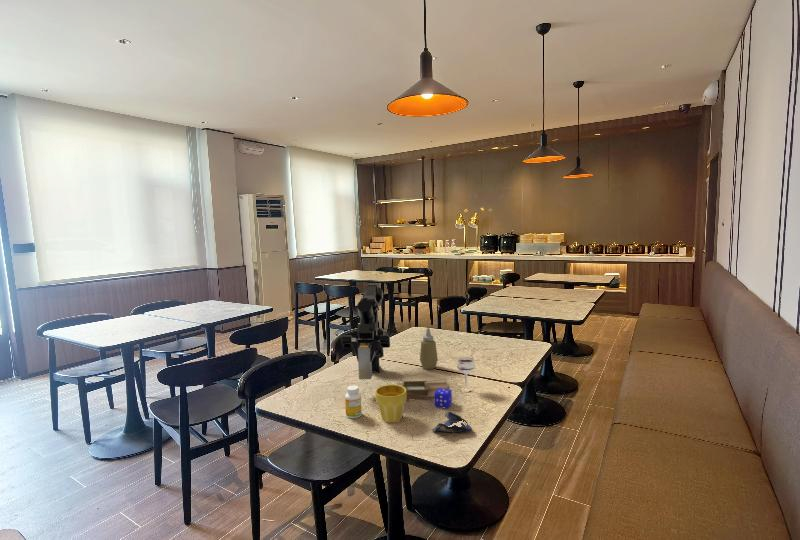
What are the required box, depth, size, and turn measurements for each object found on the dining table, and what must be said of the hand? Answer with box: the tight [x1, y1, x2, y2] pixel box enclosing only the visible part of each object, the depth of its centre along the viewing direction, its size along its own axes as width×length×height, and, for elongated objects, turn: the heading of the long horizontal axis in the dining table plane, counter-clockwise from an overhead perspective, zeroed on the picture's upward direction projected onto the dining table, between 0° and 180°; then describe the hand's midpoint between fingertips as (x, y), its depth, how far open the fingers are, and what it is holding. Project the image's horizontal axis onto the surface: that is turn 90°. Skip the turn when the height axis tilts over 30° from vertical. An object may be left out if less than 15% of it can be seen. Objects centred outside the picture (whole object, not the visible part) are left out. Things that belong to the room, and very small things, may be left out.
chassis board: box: [396, 380, 449, 401], centre depth 161 cm, size 14×20×3 cm
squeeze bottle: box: [419, 327, 439, 370], centre depth 188 cm, size 8×8×18 cm
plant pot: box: [374, 384, 407, 423], centre depth 139 cm, size 10×10×10 cm
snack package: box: [431, 410, 473, 433], centre depth 131 cm, size 12×6×12 cm
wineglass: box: [456, 356, 476, 389], centre depth 161 cm, size 7×7×12 cm
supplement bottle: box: [344, 385, 363, 419], centre depth 142 cm, size 5×5×10 cm
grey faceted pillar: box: [357, 343, 373, 380], centre depth 159 cm, size 4×4×13 cm
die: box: [434, 388, 453, 409], centre depth 149 cm, size 5×5×5 cm
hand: (364, 361), depth 158 cm, fingers closed on grey faceted pillar, 4 cm apart
